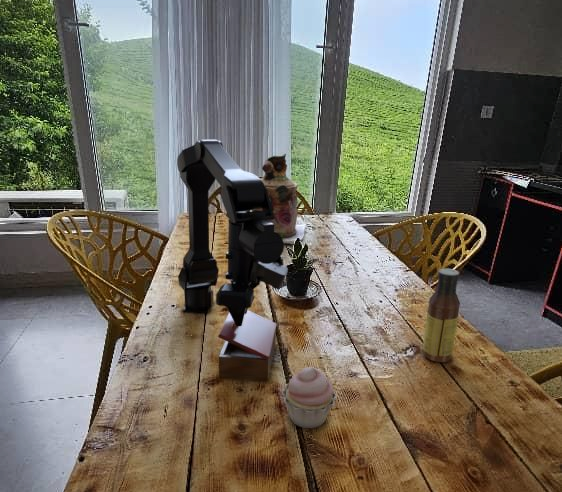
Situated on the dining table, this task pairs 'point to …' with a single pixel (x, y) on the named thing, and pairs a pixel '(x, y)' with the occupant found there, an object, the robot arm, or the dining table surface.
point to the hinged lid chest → (244, 363)
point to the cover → (250, 333)
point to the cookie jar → (282, 199)
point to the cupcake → (309, 398)
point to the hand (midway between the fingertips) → (241, 319)
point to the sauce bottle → (442, 318)
